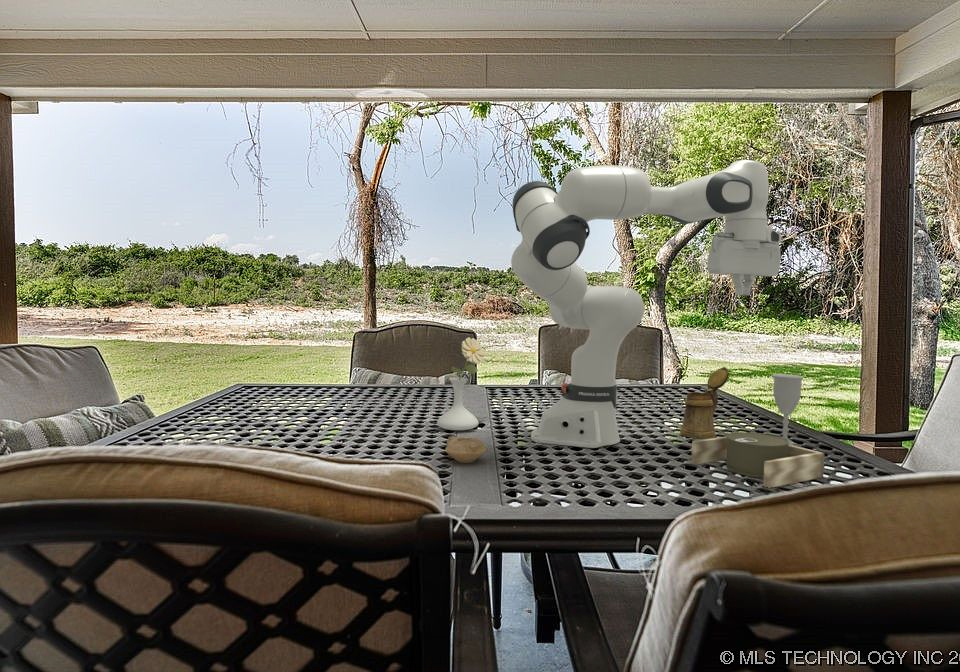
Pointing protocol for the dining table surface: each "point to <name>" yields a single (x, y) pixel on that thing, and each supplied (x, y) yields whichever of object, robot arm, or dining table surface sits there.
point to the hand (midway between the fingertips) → (742, 295)
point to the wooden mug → (703, 408)
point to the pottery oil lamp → (465, 449)
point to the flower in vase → (457, 413)
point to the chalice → (787, 396)
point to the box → (767, 462)
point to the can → (753, 452)
